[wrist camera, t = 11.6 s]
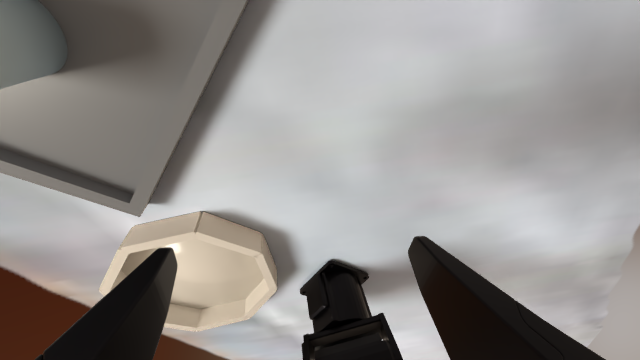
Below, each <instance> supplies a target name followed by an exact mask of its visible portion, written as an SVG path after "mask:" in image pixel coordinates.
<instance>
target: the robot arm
mask: <svg viewBox="0 0 640 360" xmlns="http://www.w3.org/2000/svg"><path fill="white" fill-rule="evenodd" d="M408 255H409V259H410V262H411V265H412V268H413V271H414V274H415V277H416V280H417V283H418V286H419V289H420V291H421V294H422V296H423V299H424V301H425V303H426V305H427V308H428V310H429V312H430V314H431V317H432V319H433V321H434V323H435V326H436V328H437V330H438V333H439V335H440V337H441V339H442V342H443V344H444V346H445V348H446V351H447V353H448V355H449V357H450V360H605V359H604V358H602V357H600V356H599V355H597V354H596V353H594V352H593V351H591V350H590V349H588V348H587V347H585V346H583V345H582V344H580V343H579V342H577V341H576V340H574V339H572V338H571V337H569V336H568V335H566V334H564V333H563V332H561V331H560V330H558V329H557V328H555V327H554V326H552V325H551V324H549V323H548V322H546V321H545V320H543V319H542V318H540V317H539V316H537V315H536V314H534V313H533V312H531V311H530V310H529V309H527V308H526V307H524V306H523V305H521V304H520V303H519V302H517V301H515V300H514V299H513V298H512V297H510V296H509V295H507V294H506V293H505V292H503V291H502V290H500V289H499V288H497V287H496V286H495V285H493V284H492V283H490V282H489V281H488V280H486V279H485V278H483V277H482V276H481V275H479V274H478V273H476V272H475V271H473V270H472V269H471V268H469V267H468V266H466V265H465V264H464V263H462V262H461V261H459V260H458V259H457V258H455V257H454V256H452V255H451V254H450V253H448V252H447V251H445V250H444V249H442V248H441V247H440V246H438V245H437V244H435V243H434V242H433V241H431V240H430V239H428V238H427V237H425V236H416V237H415V238H414V239H413V241H412V243H411V245H410V247H409V250H408ZM177 267H178V265H177V260H176V257H175V253H174V250H173V248H171V247H165V248H158V249H156V250H155V251H154V252H153V253H152V254H151V255H150V256H149V257H148V258H146V259H145V260H144V261H143V262H142V263H141V264H140V265H139V266H138V267H137V268H135V269H134V270H133V271H132V272H131V273H130V274H129V275H128V276H127V277H125V278H124V279H123V280H122V281H121V282H120V283H119V284H118V285H117V286H116V287H114V288H113V289H112V290H111V291H110V292H109V293H108V294H107V295H106V296H104V297H103V298H102V299H101V300H100V301H99V302H98V303H97V304H96V305H95V306H93V307H92V308H91V309H90V310H89V311H88V312H87V313H86V314H85V315H84V316H82V317H81V318H80V319H79V320H78V321H77V322H76V323H75V324H74V325H72V326H71V327H70V328H69V329H68V330H67V331H66V332H65V333H64V334H63V335H61V336H60V337H59V338H58V339H57V340H56V341H55V342H54V343H53V344H52V345H51V346H49V347H48V348H47V349H46V350H45V351H44V352H43V355H39V356H38V357H37V358H36V359H35V360H153V356H154V354H155V351H156V348H157V345H158V342H159V339H160V336H161V333H162V330H163V327H164V324H165V321H166V318H167V314H168V310H169V306H170V301H171V296H172V292H173V287H174V282H175V278H176V273H177ZM368 278H369V275H368V273H366V272H363V271H360V270H358V269H355V268H352V267H349V266H347V265H344V264H341V263H338V262H335V261H328V262H327V263H326V264H325V265H324V266H323V267H322V268H321V269H320V270H319V271H318V272H317V273H316V274H315V275H314V276H313V277H312V278H311V279H310V280H309V281H308V282H307V283H306V284H305V285H304V286H303V287H302V288H301V289H300V294H301V295H305V296H307V302H308V310H309V317H310V319H311V320H312V321H313V328H314V333H313V334H305V335H304V343H302V353H303V360H403V359H402V356H401V353H400V351H399V348H398V346H397V344H396V341H395V339H394V337H393V335H392V332H391V330H390V328H389V325H388V323H387V321H386V318H385V316H384V314H383V313H379V314H378V315H376V316H372V315H371V312H370V309H369V306H368V303H367V300H366V297H365V294H364V291H363V288H362V284H363V283H364V282H365V281H366V280H367V279H368ZM382 339H383V341H382Z"/></svg>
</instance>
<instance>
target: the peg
mask: <svg viewBox="0 0 640 360" xmlns="http://www.w3.org/2000/svg"><path fill="white" fill-rule="evenodd" d="M67 54H68V48H67V42H66V39H65V36H64V34H63V31H62V29H61V27H60V26H59V24H58V22H57V21H56V20H55V18H54V17H53V16H52V14H51V13H50V12H49V11H48V10H47V9H46V8H45V7H44V6H43V5H42V4H41V3H40V2H39V1H38V0H0V89H3V88H6V87H9V86H13V85H16V84H20V83H23V82H27V81H30V80H34V79H37V78H41V77H44V76H48V75H51V74H54V73H56V72H57V71H59V70H60V69H61V68H62V67H63V66H64V64H65V62H66V59H67Z"/></svg>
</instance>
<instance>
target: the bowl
mask: <svg viewBox="0 0 640 360" xmlns="http://www.w3.org/2000/svg"><path fill="white" fill-rule="evenodd" d="M165 247H171V248H173V250H174V253H175V257H176V260H177V265H178V267H177V273H176V278H175V282H174V287H173V292H172V296H171V301H170V306H169V310H168V314H167V318H166V321H165V324H164V327H167V328H174V329H181V330H187V331H194V332H196V330H197V331H202V330H206V329H210V328H214V327H219V326H223V325H227V324H231V323H235V322H239V321H243V320H247V319H249V318H251V317H252V316H253V315H254V314H255V313H256V312H257V311H258V310H259V309H260V308H261V307H262V305H263V304H264V303H265V302H266V301H267V300H268V299H269V298H270V297H271V296H272V295H273V294H274V293H275V292H276V291H277V268H276V266H275V263H274V261H273V258H272V256H271V253H270V251H269V248H268V246H267V243H266V241H265V238H264V236H263V234H261V232H258V231H255V230H252V229H250V228H247V227H244V226H241V225H239V224H236V223H233V222H231V221H228V220H225V219H222V218H220V217H217V216H214V215H211V214H209V213H206V212H203V213H201V211H200V212H195V213H191V214H186V215H181V216H177V217H172V218H167V219H163V220H158V221H154V222H149V223H144V224H140V225H135V226H134V227H132V228H131V230H130V231H129V233H128V234H127V236H126V238H125V239H124V241H123V242H122V244H121V245H120V247H119V249H118V251H117V253H116V255H115V257H114V259H113V261H112V263H111V265H110V267H109V269H108V271H107V273H106V276H105V278H104V280H103V282H102V284H101V286H100V288H99V290H100V292H101V293H102V294H103V295H104V296H106V295H107V294H108V293H109V292H110V291H111V290H112V289H113V288H114V287H116V286H117V285H118V284H119V283H120V282H121V281H122V280H123V279H124V278H125V277H127V276H128V275H129V274H130V273H131V272H132V271H133V270H134V269H135V268H137V267H138V266H139V265H140V264H141V263H142V262H143V261H144V260H145V259H146V258H148V257H149V256H150V255H151V254H152V253H153V252H154V251H155V250H156V249H158V248H165Z"/></svg>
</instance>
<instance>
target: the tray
mask: <svg viewBox="0 0 640 360" xmlns="http://www.w3.org/2000/svg"><path fill="white" fill-rule="evenodd" d="M38 1H39V2H40V3H41V4H42V5H43V6H44V7H45V8H46V9H47V10H48V11H49V12H50V13H51V14H52V16H53V17H54V18H55V20H56V21H57V22H58V24H59V26H60V27H61V29H62V31H63V34H64V36H65V39H66V42H67V48H68V54H67V59H66V62H65V64H64V66H63V67H62V68H61V69H60V70H59V71H57V72H56V73H54V74H51V75H48V76H44V77H41V78H37V79H34V80H30V81H27V82H23V83H20V84H16V85H13V86H9V87H6V88H3V89H0V173H4V174H7V175H10V176H13V177H16V178H19V179H22V180H25V181H29V182H32V183H35V184H38V185H41V186H44V187H47V188H50V189H54V190H57V191H60V192H63V193H66V194H69V195H72V196H76V197H79V198H82V199H85V200H88V201H91V202H94V203H97V204H101V205H104V206H107V207H110V208H113V209H116V210H119V211H123V212H126V213H129V214H132V215H135V216H138V217H140V216H141V214H142V213H143V211H144V210H145V208H146V206H147V205H148V203H149V201H150V199H151V197H152V195H153V193H154V191H155V189H156V187H157V185H158V183H159V181H160V179H161V177H162V175H163V173H164V171H165V169H166V167H167V165H168V163H169V161H170V159H171V157H172V155H173V153H174V151H175V149H176V147H177V145H178V143H179V141H180V139H181V137H182V135H183V133H184V131H185V129H186V127H187V125H188V123H189V121H190V119H191V116H192V114H193V112H194V110H195V108H196V106H197V104H198V102H199V100H200V98H201V96H202V94H203V92H204V90H205V88H206V86H207V84H208V82H209V80H210V78H211V76H212V74H213V72H214V70H215V68H216V66H217V64H218V62H219V60H220V58H221V56H222V54H223V52H224V50H225V48H226V46H227V44H228V42H229V40H230V38H231V36H232V34H233V32H234V30H235V28H236V26H237V24H238V22H239V20H240V18H241V16H242V14H243V12H244V10H245V8H246V6H247V4H248V2H249V0H38Z"/></svg>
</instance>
